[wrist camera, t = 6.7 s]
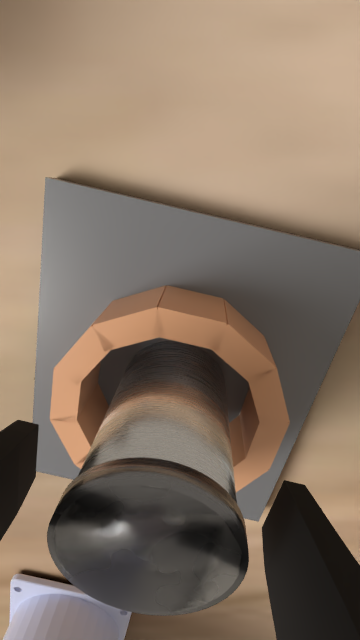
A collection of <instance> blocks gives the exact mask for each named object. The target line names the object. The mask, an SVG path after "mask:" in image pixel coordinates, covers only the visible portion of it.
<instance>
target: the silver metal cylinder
mask: <svg viewBox="0 0 360 640" xmlns="http://www.w3.org/2000/svg"><path fill="white" fill-rule="evenodd" d="M47 542H48V548H49V551H50V554H51V557H52V559H53V561H54V563H55V565H56V566H57V568H58V569H59V570H60V572H61V573H62V574H63V575H64V576H65V577H66V579H67V580H68V581H69V582H71V583H72V584H73V585H74V586H75V587H77V588H78V589H79V590H81V591H82V592H84V593H85V594H87V595H88V596H90V597H92V598H94V599H96V600H98V601H100V602H102V603H104V604H106V605H109V606H112V607H115V608H118V609H121V610H125V611H129V612H134V613H139V614H146V615H161V616H166V615H180V614H187V613H192V612H196V611H200V610H203V609H206V608H209V607H211V606H213V605H215V604H217V603H219V602H221V601H222V600H224V599H226V598H227V597H228V596H229V595H231V594H232V593H233V592H234V591H235V590H236V589H237V588H238V586H239V585H240V584H241V582H242V580H243V579H244V577H245V574H246V572H247V568H248V562H249V555H248V544H247V536H246V527H245V522H244V518H243V515H242V513H241V510H240V508H239V507H238V505H237V500H236V490H235V479H234V469H233V459H232V449H231V439H230V428H229V418H228V408H227V398H226V387H225V380H224V375H223V373H222V370H221V368H220V366H219V365H218V363H217V362H216V361H215V359H214V358H213V357H212V356H211V355H210V354H208V353H207V352H206V351H204V350H203V349H201V348H199V347H197V346H195V345H191V344H186V343H182V342H178V341H162V342H157V343H154V344H151V345H149V346H147V347H145V348H143V349H142V350H140V351H139V352H138V353H137V354H136V355H135V356H134V357H133V358H132V359H131V361H130V362H129V364H128V366H127V368H126V370H125V373H124V375H123V377H122V379H121V381H120V384H119V386H118V388H117V390H116V392H115V395H114V397H113V399H112V401H111V404H110V406H109V408H108V410H107V412H106V415H105V417H104V419H103V421H102V424H101V426H100V428H99V430H98V432H97V435H96V437H95V439H94V441H93V444H92V446H91V448H90V450H89V452H88V455H87V457H86V459H85V461H84V464H83V466H82V468H81V470H80V472H79V475H78V476H77V477H76V478H75V479H74V480H73V481H72V482H71V483H70V484H69V485H68V487H67V488H66V490H65V491H64V493H63V495H62V497H61V499H60V501H59V503H58V506H57V508H56V510H55V512H54V514H53V516H52V518H51V521H50V523H49V527H48V532H47Z"/></svg>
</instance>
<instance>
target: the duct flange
mask: <svg viewBox="0 0 360 640" xmlns="http://www.w3.org/2000/svg"><path fill="white" fill-rule="evenodd" d="M359 301H360V250H359V249H354V248H350V247H346V246H342V245H337V244H333V243H329V242H325V241H320V240H316V239H312V238H308V237H303V236H299V235H295V234H291V233H286V232H282V231H278V230H274V229H269V228H265V227H261V226H257V225H252V224H248V223H244V222H240V221H236V220H231V219H227V218H223V217H219V216H214V215H210V214H206V213H202V212H197V211H193V210H189V209H185V208H180V207H176V206H172V205H168V204H163V203H159V202H155V201H151V200H146V199H142V198H138V197H134V196H129V195H125V194H121V193H117V192H112V191H108V190H104V189H100V188H95V187H91V186H87V185H83V184H79V183H74V182H70V181H66V180H62V179H57V178H48V177H46V178H45V197H44V216H43V235H42V254H41V273H40V292H39V312H38V331H37V350H36V369H35V388H34V407H33V423H34V424H38V425H39V431H38V446H37V462H36V471H37V472H42V473H46V474H51V475H55V476H59V477H64V478H68V479H73V480H74V479H75V478H76V477H77V476H78V475H79V472H80V470H81V468H82V466H83V464H84V461H85V459H86V457H87V455H88V452H89V450H90V448H91V446H92V444H93V441H94V439H95V437H96V435H97V432H98V430H99V428H100V426H101V424H102V421H103V419H104V417H105V415H106V412H107V410H108V408H109V406H110V404H111V401H112V399H113V397H114V395H115V392H116V390H117V388H118V386H119V384H120V381H121V379H122V377H123V375H124V373H125V370H126V368H127V366H128V364H129V362H130V361H131V359H132V358H133V357H134V356H135V355H136V354H137V353H138V352H139V351H140V350H142V349H143V348H145V347H147V346H149V345H151V344H154V343H157V342H162V341H178V342H182V343H186V344H191V345H195V346H197V347H199V348H201V349H203V350H204V351H206V352H207V353H208V354H210V355H211V356H212V357H213V358H214V359H215V361H216V362H217V363H218V365H219V366H220V368H221V370H222V373H223V375H224V380H225V387H226V398H227V408H228V418H229V428H230V439H231V449H232V459H233V469H234V479H235V490H236V500H237V505H238V507H239V508H240V510H241V513H242V515H243V518H245V519H249V520H254V521H259V519H260V517H261V515H262V513H263V511H264V508H265V506H266V504H267V502H268V500H269V497H270V495H271V493H272V491H273V489H274V487H275V484H276V482H277V480H278V478H279V476H280V473H281V471H282V469H283V467H284V465H285V463H286V460H287V458H288V456H289V454H290V452H291V449H292V447H293V445H294V443H295V441H296V439H297V436H298V434H299V432H300V430H301V428H302V425H303V423H304V421H305V419H306V417H307V415H308V412H309V410H310V408H311V406H312V404H313V401H314V399H315V397H316V395H317V393H318V390H319V388H320V386H321V384H322V382H323V380H324V377H325V375H326V373H327V371H328V369H329V366H330V364H331V362H332V360H333V358H334V356H335V353H336V351H337V349H338V347H339V345H340V342H341V340H342V338H343V336H344V334H345V332H346V329H347V327H348V325H349V323H350V321H351V318H352V316H353V314H354V312H355V310H356V308H357V305H358V303H359Z"/></svg>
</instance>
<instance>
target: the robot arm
mask: <svg viewBox="0 0 360 640" xmlns="http://www.w3.org/2000/svg"><path fill="white" fill-rule="evenodd" d="M38 431H39V425H38V424H34V423H30V422H25V421H21V420H17V421H15V422H14V423H12V424H11V425H9V426H8V427H6V428H5V429H3V430H2V431H1V432H0V541H1V539H2V537H3V536H4V534H5V533H6V531H7V529H8V528H9V526H10V525H11V523H12V521H13V520H14V518H15V516H16V515H17V513H18V511H19V509H20V507H21V505H22V503H23V501H24V499H25V497H26V495H27V493H28V491H29V489H30V487H31V485H32V483H33V481H34V479H35V477H36V462H37V446H38ZM262 537H263V553H264V566H265V574H266V580H267V586H268V592H269V598H270V603H271V609H272V615H273V621H274V626H275V632H276V638H277V640H360V565H359V564H358V562H357V561H356V560H355V558H354V557H353V555H352V554H351V552H350V551H349V550H348V548H347V547H346V545H345V544H344V542H343V541H342V539H341V538H340V536H339V535H338V533H337V532H336V531H335V529H334V528H333V526H332V525H331V523H330V522H329V520H328V519H327V517H326V516H325V514H324V513H323V511H322V510H321V508H320V507H319V505H318V504H317V502H316V501H315V499H314V498H313V496H312V495H311V493H310V492H309V491H308V489H307V488H306V486H305V485H302V484H298V483H293V482H289V481H285V480H284V482H283V484H282V486H281V488H280V490H279V492H278V494H277V497H276V499H275V501H274V503H273V505H272V507H271V509H270V512H269V514H268V516H267V518H266V520H265V522H264V525H263V527H262ZM131 613H132V612H129V611H125V610H121V609H118V608H115V607H112V606H109V605H106V604H104V603H102V602H100V601H98V600H96V599H94V598H92V597H90V596H88V595H87V594H85V593H84V592H82V591H81V590H79V589H78V588H77V587H75V586H74V585H70V584H65V583H61V582H56V581H52V580H47V579H43V578H38V577H34V576H29V575H25V574H15V575H14V576H13V578H12V580H11V589H10V625H9V627H8V629H7V631H6V634H5V636H4V638H3V640H124V638H125V635H126V631H127V627H128V624H129V620H130V617H131Z"/></svg>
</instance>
